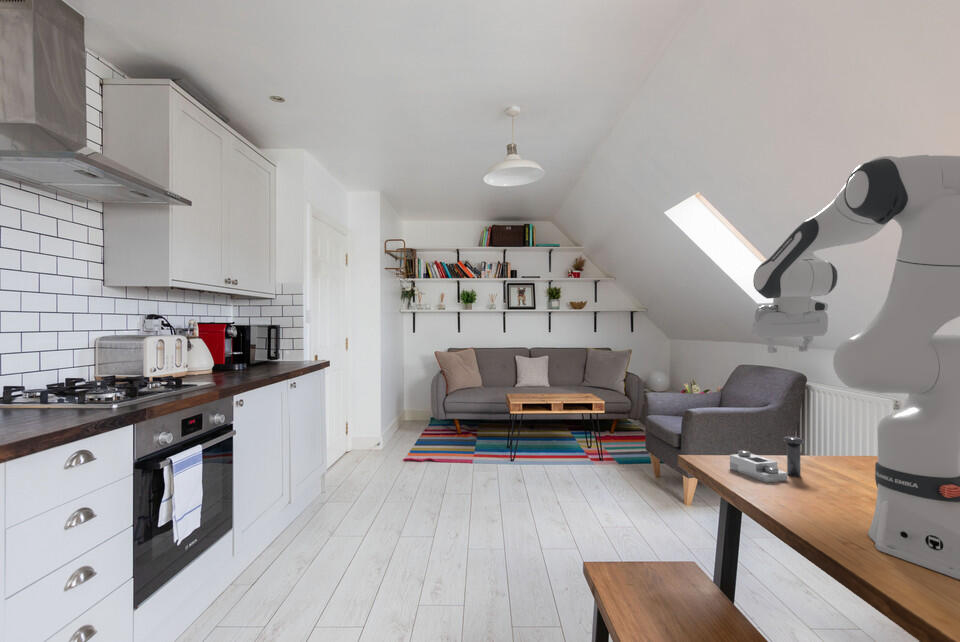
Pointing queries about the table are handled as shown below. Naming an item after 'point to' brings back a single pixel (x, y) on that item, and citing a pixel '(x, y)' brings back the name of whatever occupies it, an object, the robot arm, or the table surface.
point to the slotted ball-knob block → (756, 467)
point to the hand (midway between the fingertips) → (787, 352)
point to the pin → (793, 456)
